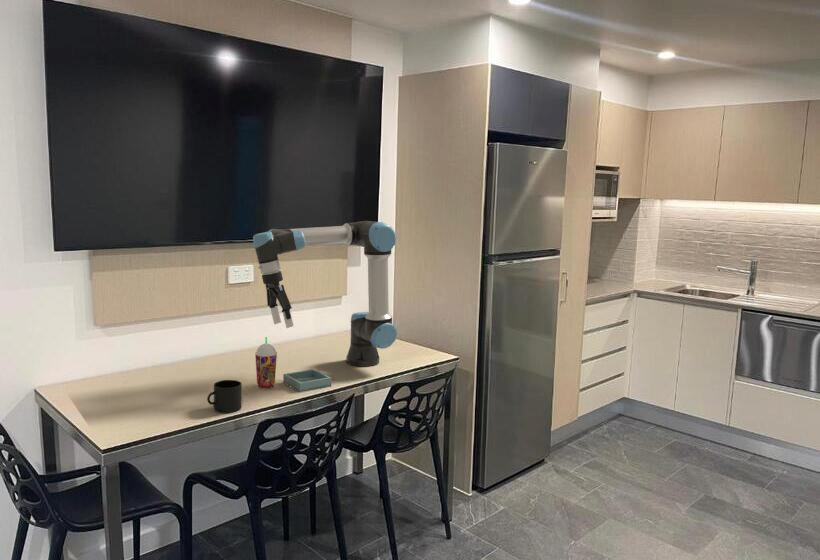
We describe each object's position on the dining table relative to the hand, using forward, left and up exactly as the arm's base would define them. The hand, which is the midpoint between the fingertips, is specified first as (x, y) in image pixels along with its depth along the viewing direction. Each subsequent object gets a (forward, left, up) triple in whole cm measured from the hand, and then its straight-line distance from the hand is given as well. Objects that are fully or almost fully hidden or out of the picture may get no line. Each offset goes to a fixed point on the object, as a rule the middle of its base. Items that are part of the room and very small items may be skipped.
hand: (283, 325), depth 243 cm
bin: (-9, +3, -25) cm, 27 cm away
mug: (+29, +12, -25) cm, 40 cm away
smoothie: (+6, -3, -25) cm, 26 cm away
